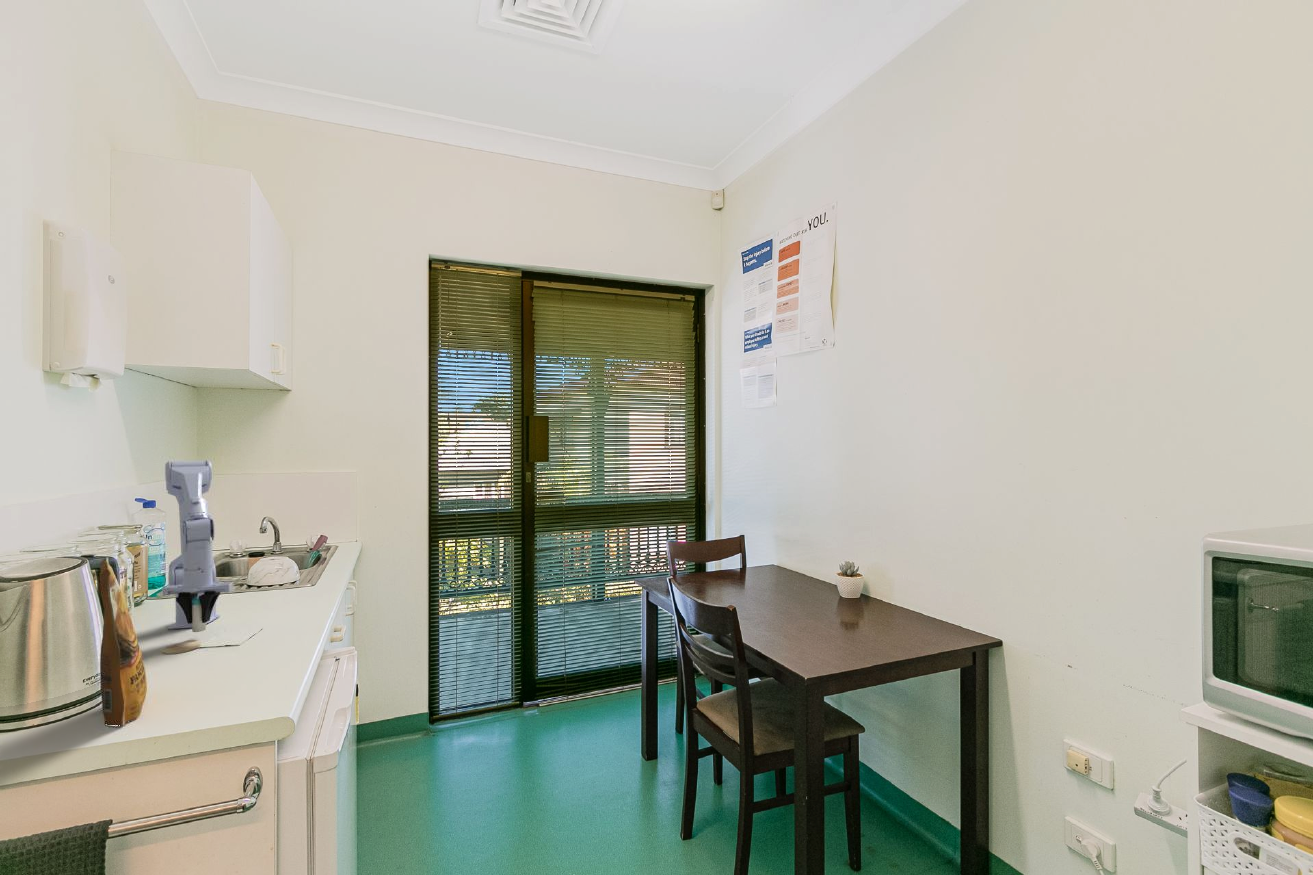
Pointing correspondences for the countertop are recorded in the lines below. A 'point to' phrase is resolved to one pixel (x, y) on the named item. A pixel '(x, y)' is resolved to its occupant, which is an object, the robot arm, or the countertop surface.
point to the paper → (220, 643)
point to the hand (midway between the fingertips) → (198, 622)
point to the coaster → (181, 647)
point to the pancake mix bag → (119, 656)
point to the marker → (197, 616)
